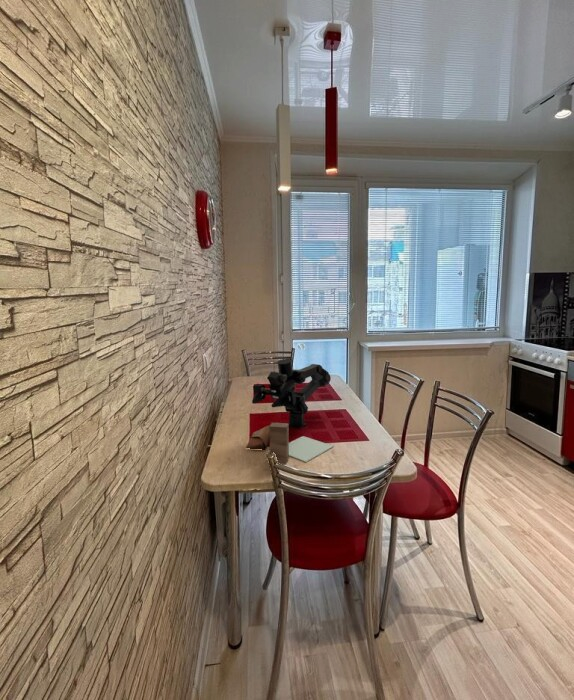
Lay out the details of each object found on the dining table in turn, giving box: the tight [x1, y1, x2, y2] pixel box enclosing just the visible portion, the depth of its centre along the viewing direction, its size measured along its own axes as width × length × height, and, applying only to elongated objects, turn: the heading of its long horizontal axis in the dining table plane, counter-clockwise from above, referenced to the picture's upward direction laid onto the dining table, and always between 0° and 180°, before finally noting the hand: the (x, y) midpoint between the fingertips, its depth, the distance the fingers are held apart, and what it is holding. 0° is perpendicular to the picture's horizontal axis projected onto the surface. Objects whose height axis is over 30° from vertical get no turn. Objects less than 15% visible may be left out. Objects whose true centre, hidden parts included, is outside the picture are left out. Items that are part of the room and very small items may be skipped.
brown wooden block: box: [269, 422, 290, 464], centre depth 130 cm, size 4×6×13 cm, turn 79°
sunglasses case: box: [245, 425, 270, 451], centre depth 147 cm, size 18×7×7 cm, turn 175°
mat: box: [289, 435, 335, 463], centre depth 140 cm, size 17×15×1 cm
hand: (262, 404), depth 141 cm, fingers open, 9 cm apart
